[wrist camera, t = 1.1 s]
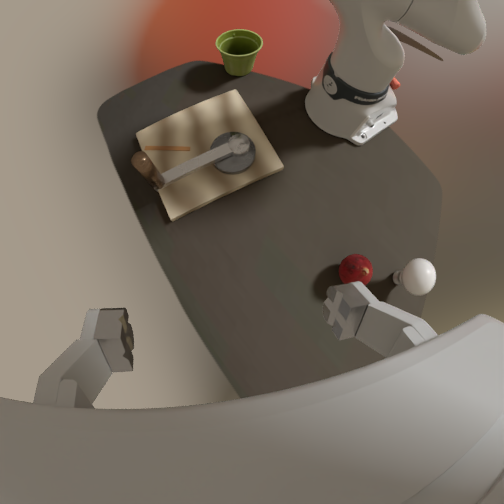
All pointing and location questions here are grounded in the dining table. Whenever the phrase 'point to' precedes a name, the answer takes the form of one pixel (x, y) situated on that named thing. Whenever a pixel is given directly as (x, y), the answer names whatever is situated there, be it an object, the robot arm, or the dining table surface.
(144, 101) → the dining table surface
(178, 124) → the stand
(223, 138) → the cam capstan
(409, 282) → the lightbulb
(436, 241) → the dining table surface
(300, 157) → the dining table surface
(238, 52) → the plant pot
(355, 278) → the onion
